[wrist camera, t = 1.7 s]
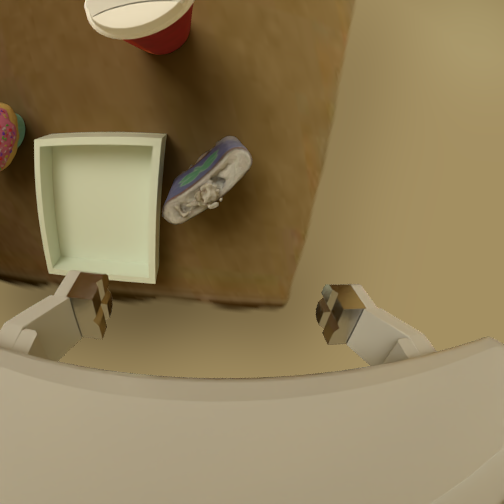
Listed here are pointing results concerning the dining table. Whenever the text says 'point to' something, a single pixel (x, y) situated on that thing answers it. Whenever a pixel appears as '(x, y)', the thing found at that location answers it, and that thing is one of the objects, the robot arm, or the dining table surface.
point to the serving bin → (101, 202)
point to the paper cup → (143, 22)
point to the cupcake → (9, 134)
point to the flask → (207, 180)
